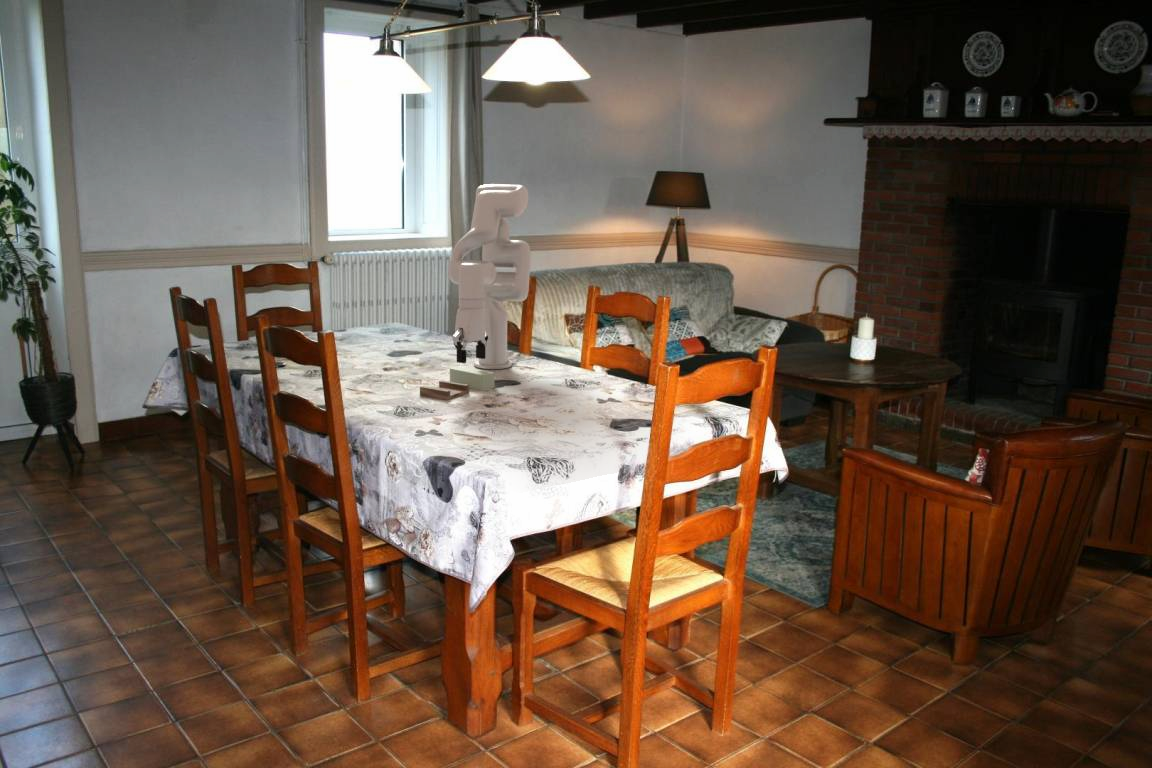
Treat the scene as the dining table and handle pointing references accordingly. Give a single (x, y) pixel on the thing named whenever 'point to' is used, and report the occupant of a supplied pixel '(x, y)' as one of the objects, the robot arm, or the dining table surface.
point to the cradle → (445, 390)
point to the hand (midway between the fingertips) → (471, 360)
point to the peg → (472, 377)
